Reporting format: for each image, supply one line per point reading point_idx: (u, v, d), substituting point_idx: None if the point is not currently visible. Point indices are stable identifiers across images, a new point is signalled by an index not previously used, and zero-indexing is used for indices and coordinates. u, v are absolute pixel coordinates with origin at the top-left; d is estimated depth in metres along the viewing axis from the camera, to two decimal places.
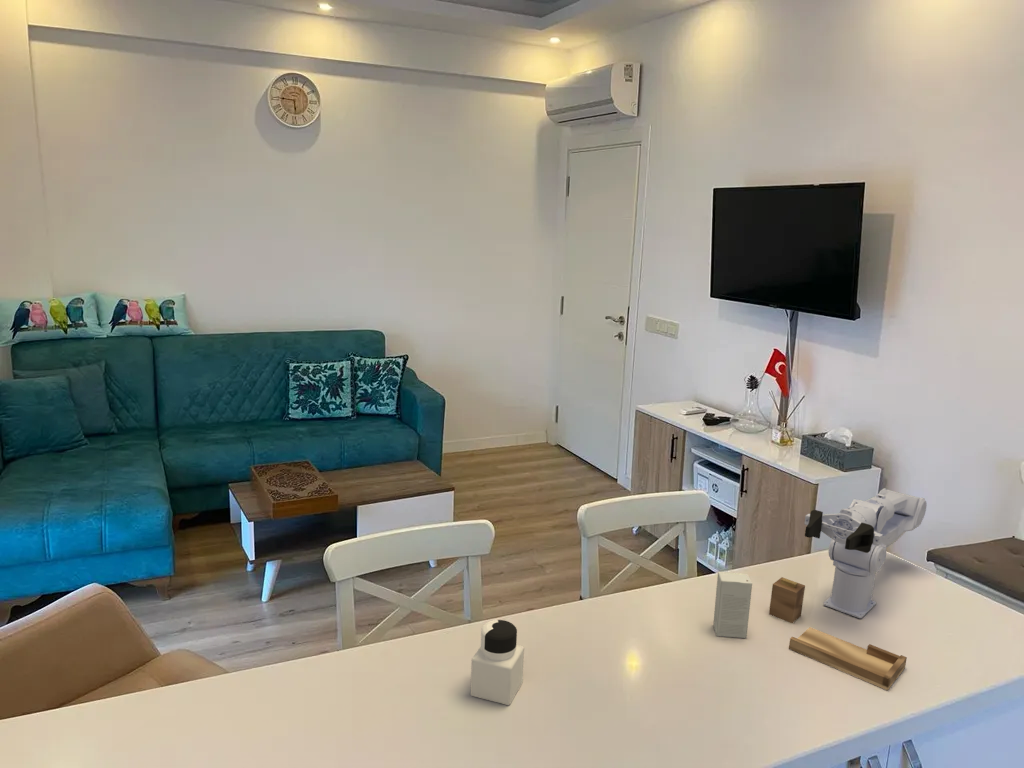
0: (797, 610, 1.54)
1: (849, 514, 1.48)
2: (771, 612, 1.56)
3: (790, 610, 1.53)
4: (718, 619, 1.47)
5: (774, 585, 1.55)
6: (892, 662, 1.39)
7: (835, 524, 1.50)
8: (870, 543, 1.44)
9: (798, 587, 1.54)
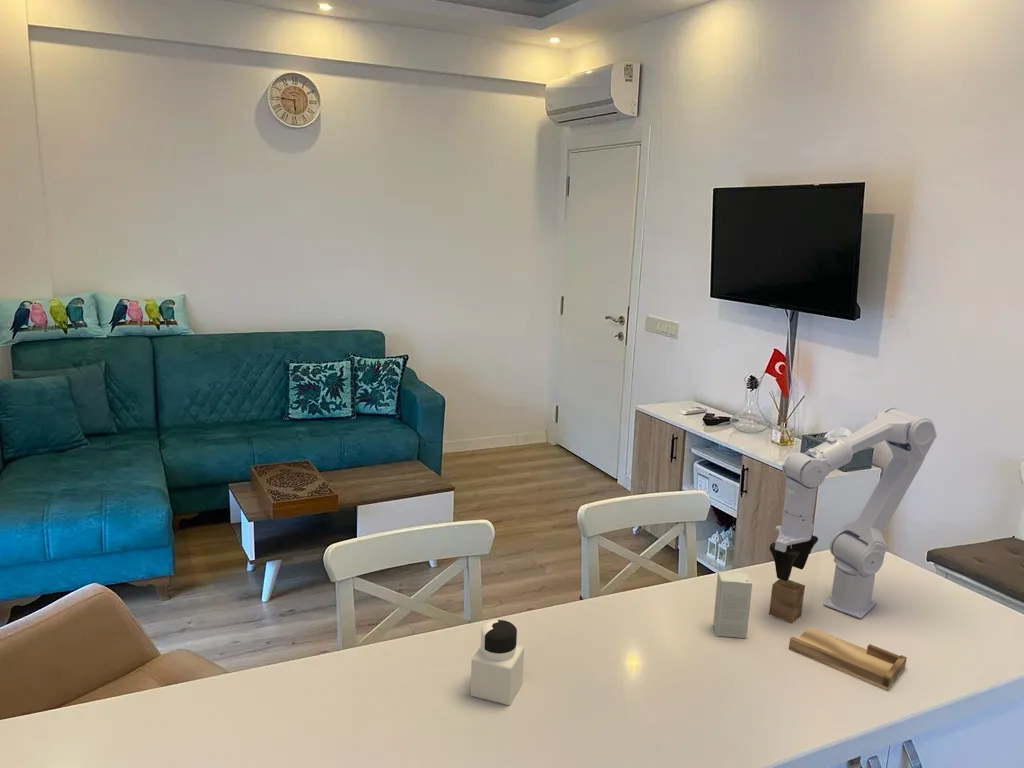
0: (797, 610, 1.54)
1: None
2: (771, 612, 1.56)
3: (790, 610, 1.53)
4: (718, 619, 1.47)
5: (774, 585, 1.55)
6: (892, 662, 1.39)
7: None
8: (784, 553, 1.48)
9: (798, 587, 1.54)
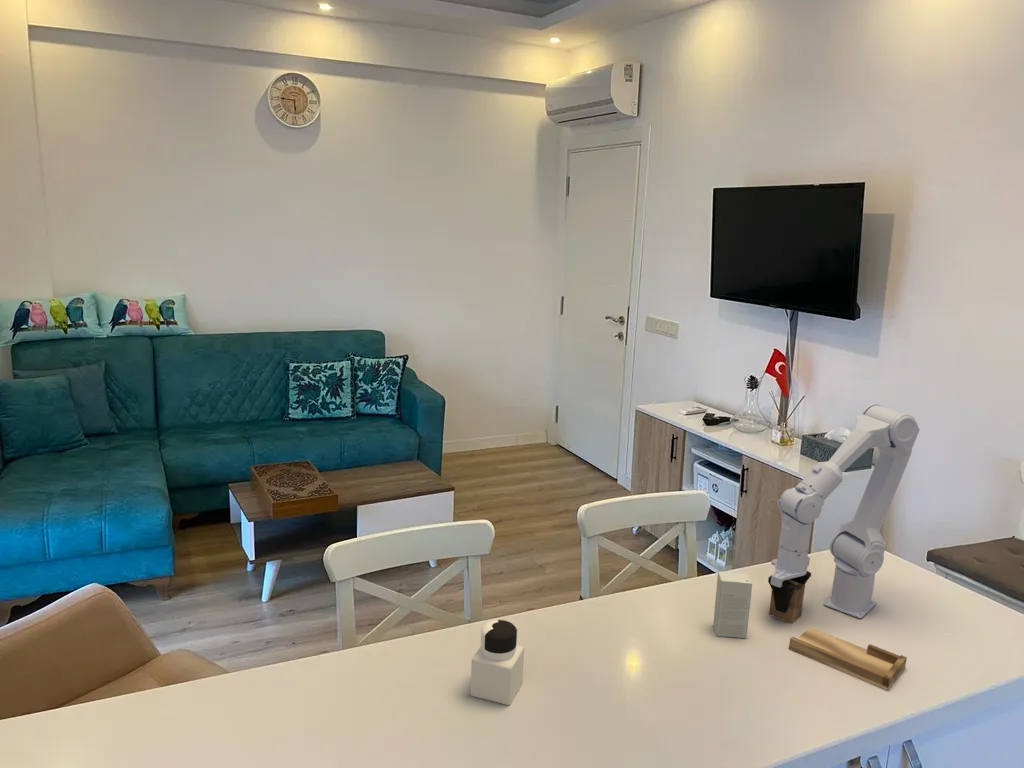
0: (797, 610, 1.54)
1: None
2: (771, 612, 1.56)
3: (790, 610, 1.53)
4: (718, 619, 1.47)
5: None
6: (892, 662, 1.39)
7: None
8: (783, 586, 1.51)
9: (798, 587, 1.54)
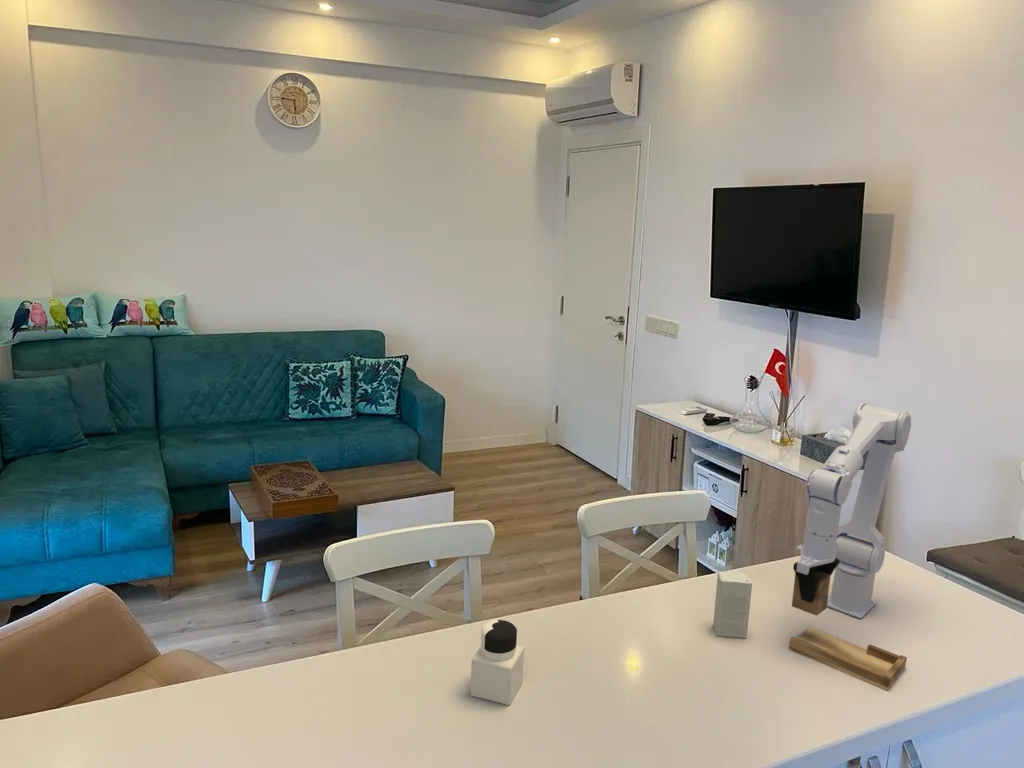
0: (822, 601, 1.44)
1: None
2: (794, 604, 1.46)
3: (814, 601, 1.43)
4: (718, 619, 1.47)
5: None
6: (892, 662, 1.39)
7: None
8: (809, 574, 1.40)
9: None
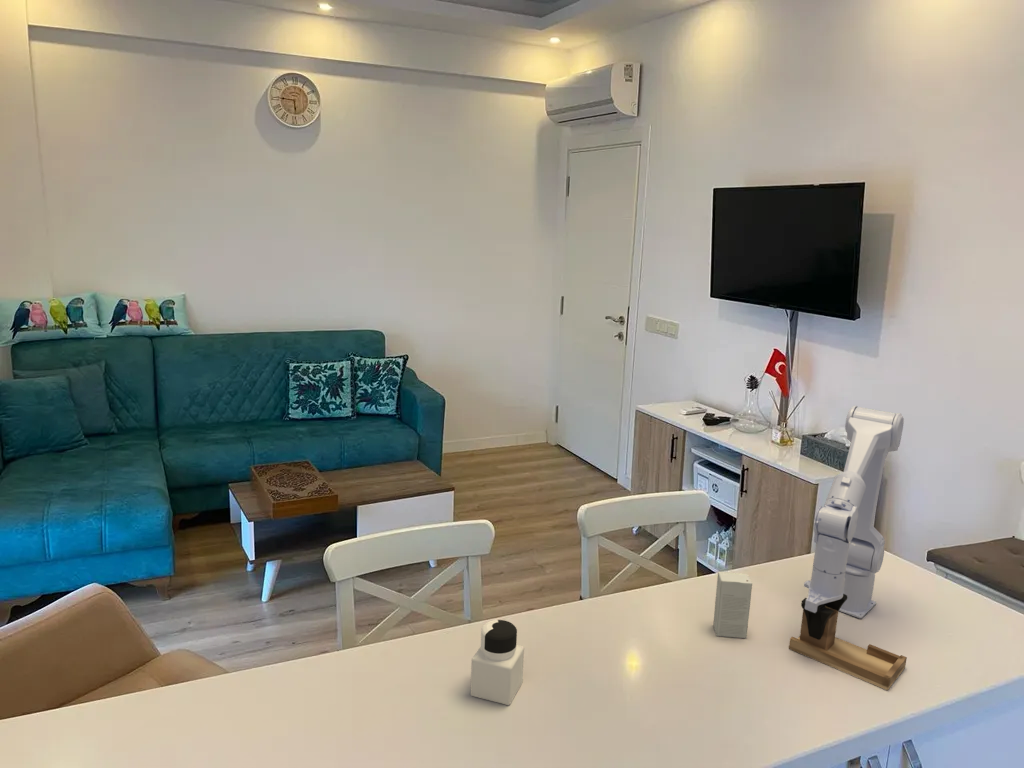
0: (830, 638, 1.43)
1: None
2: (802, 640, 1.45)
3: (822, 638, 1.42)
4: (718, 619, 1.47)
5: None
6: (892, 662, 1.39)
7: None
8: (817, 611, 1.39)
9: None
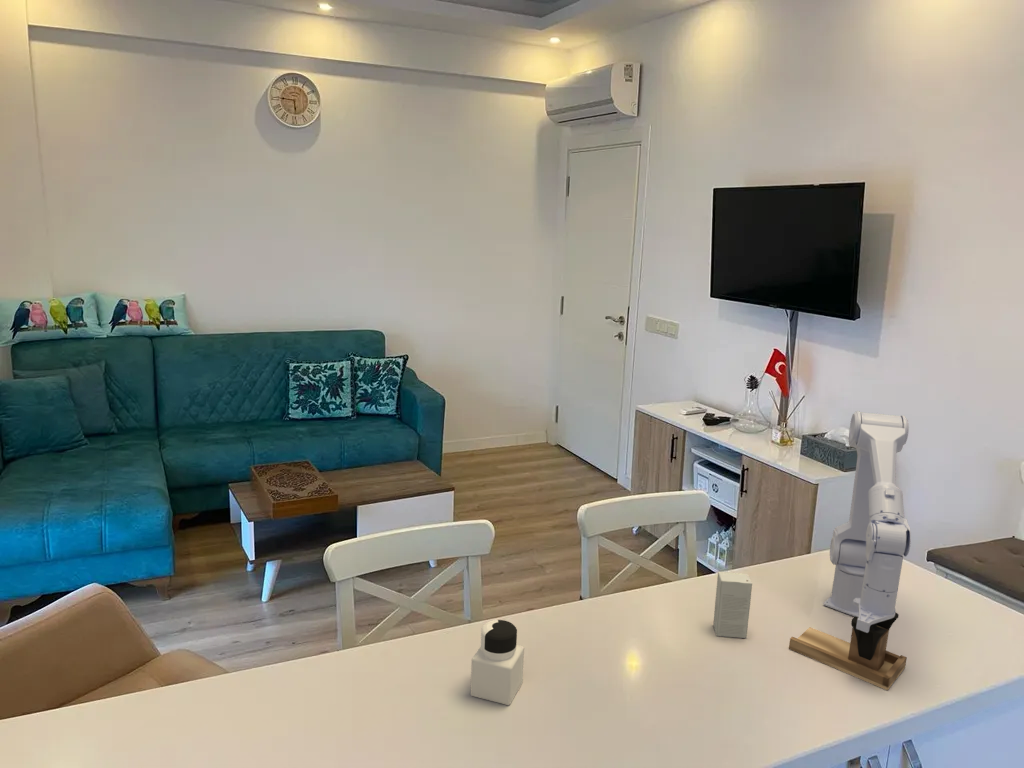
0: (881, 658, 1.37)
1: None
2: None
3: (873, 658, 1.36)
4: (718, 619, 1.47)
5: None
6: (892, 662, 1.39)
7: None
8: (869, 631, 1.33)
9: None
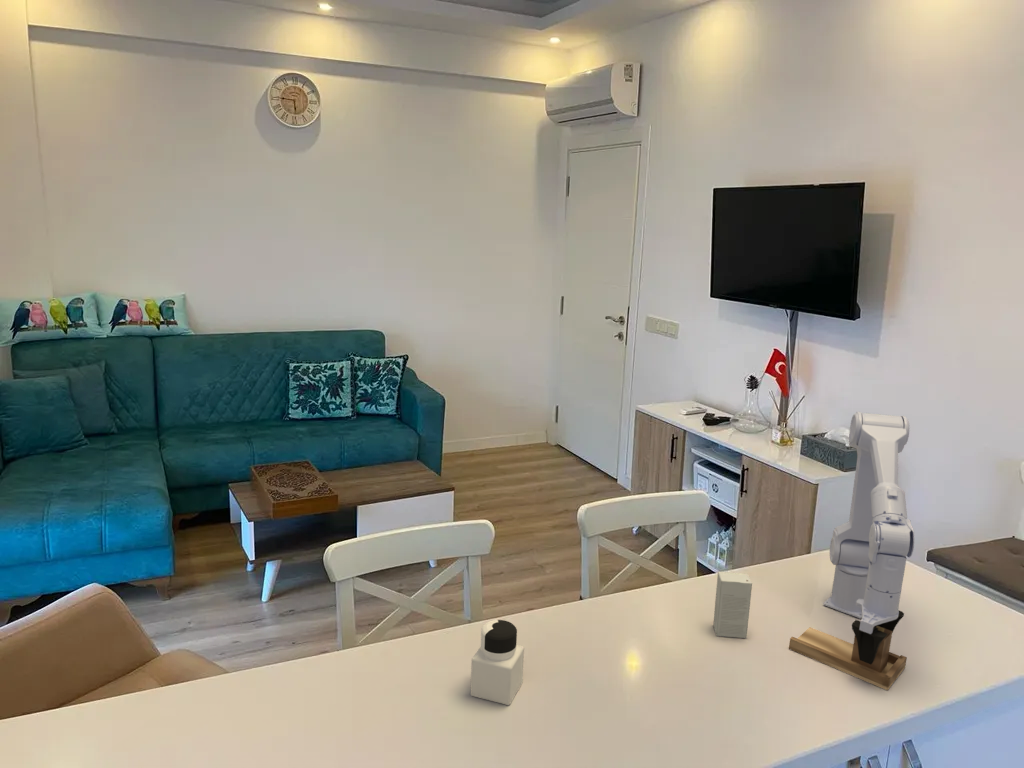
0: (884, 660, 1.37)
1: None
2: (853, 661, 1.38)
3: (876, 659, 1.35)
4: (718, 619, 1.47)
5: None
6: (892, 662, 1.39)
7: None
8: (870, 634, 1.32)
9: None
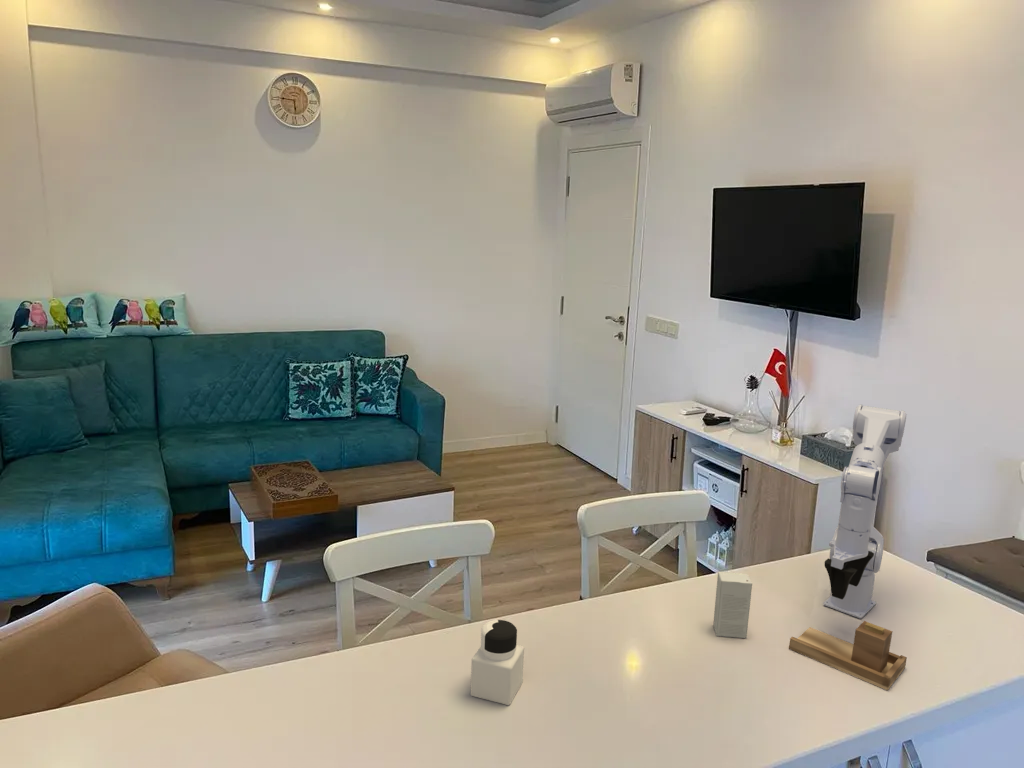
0: (884, 660, 1.37)
1: None
2: (853, 661, 1.38)
3: (876, 659, 1.35)
4: (718, 619, 1.47)
5: (857, 631, 1.37)
6: (892, 662, 1.39)
7: None
8: (841, 570, 1.41)
9: (885, 633, 1.36)
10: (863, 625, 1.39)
